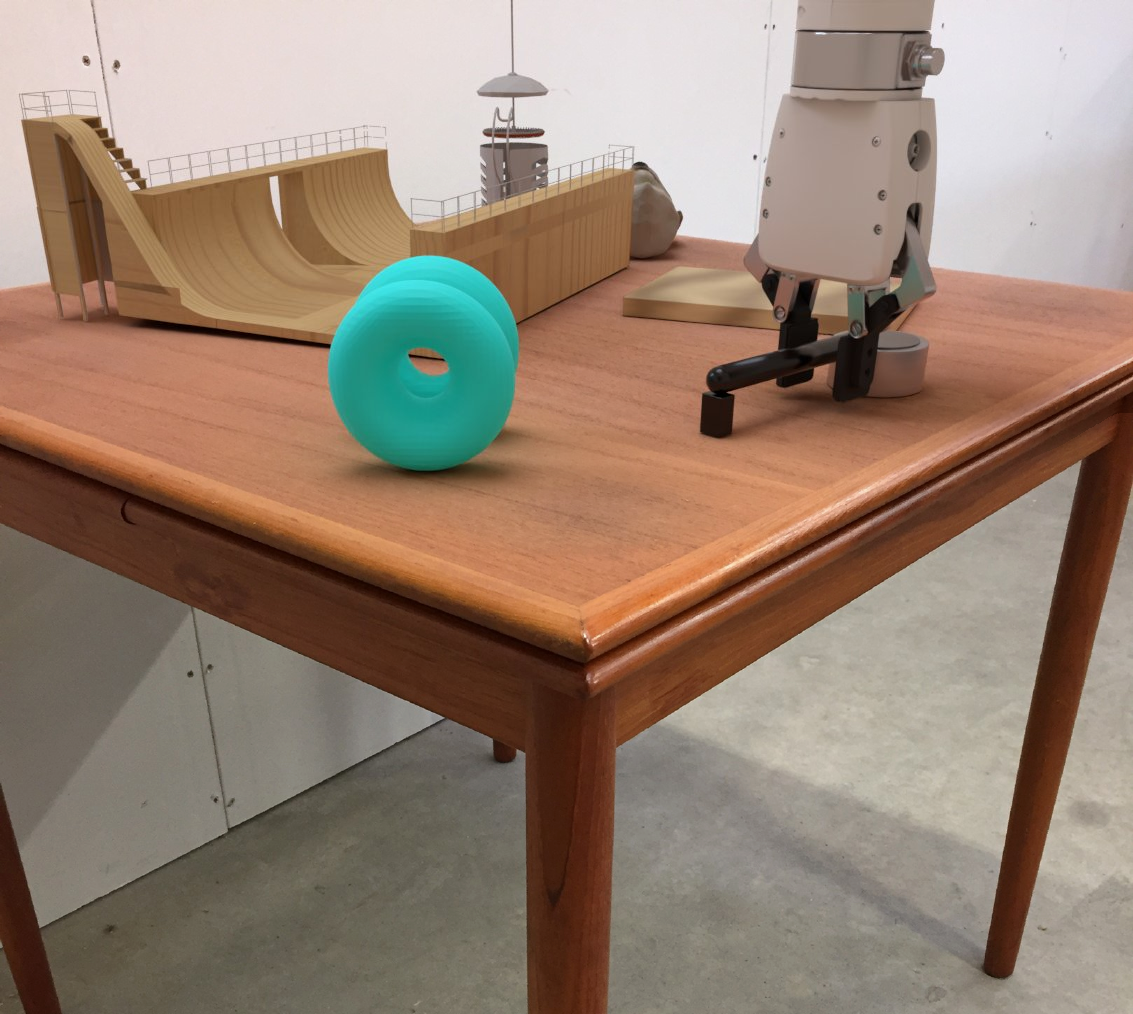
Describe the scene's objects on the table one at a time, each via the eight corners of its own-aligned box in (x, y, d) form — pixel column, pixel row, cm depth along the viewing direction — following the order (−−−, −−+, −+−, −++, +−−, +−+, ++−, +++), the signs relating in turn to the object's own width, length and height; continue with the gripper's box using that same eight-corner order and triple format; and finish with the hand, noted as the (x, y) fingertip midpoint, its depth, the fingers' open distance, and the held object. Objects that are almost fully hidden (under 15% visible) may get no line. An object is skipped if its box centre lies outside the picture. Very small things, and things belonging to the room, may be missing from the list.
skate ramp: (447, 373, 89) (442, 126, 81) (57, 317, 100) (15, 93, 91) (629, 276, 121) (639, 91, 112) (318, 241, 131) (305, 69, 123)
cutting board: (918, 302, 107) (920, 284, 106) (889, 339, 95) (892, 319, 94) (676, 283, 114) (677, 265, 113) (622, 315, 102) (622, 296, 101)
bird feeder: (564, 217, 148) (564, -29, 134) (544, 233, 138) (543, -31, 125) (484, 215, 149) (477, -29, 136) (459, 230, 139) (449, -31, 126)
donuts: (333, 477, 67) (314, 285, 62) (358, 424, 75) (344, 250, 70) (515, 478, 67) (512, 286, 62) (521, 424, 75) (518, 251, 70)
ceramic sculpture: (593, 164, 117) (581, 157, 131) (591, 261, 122) (580, 245, 135) (703, 165, 118) (680, 158, 131) (697, 261, 122) (676, 245, 135)
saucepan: (862, 368, 87) (870, 309, 85) (941, 385, 84) (950, 324, 81) (667, 424, 76) (671, 358, 74) (748, 448, 72) (753, 379, 70)
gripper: (1024, 72, 67) (966, 406, 77) (783, 62, 78) (759, 357, 87) (949, 76, 63) (897, 430, 72) (705, 65, 73) (687, 376, 83)
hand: (822, 387), depth 80 cm, fingers open, 3 cm apart
